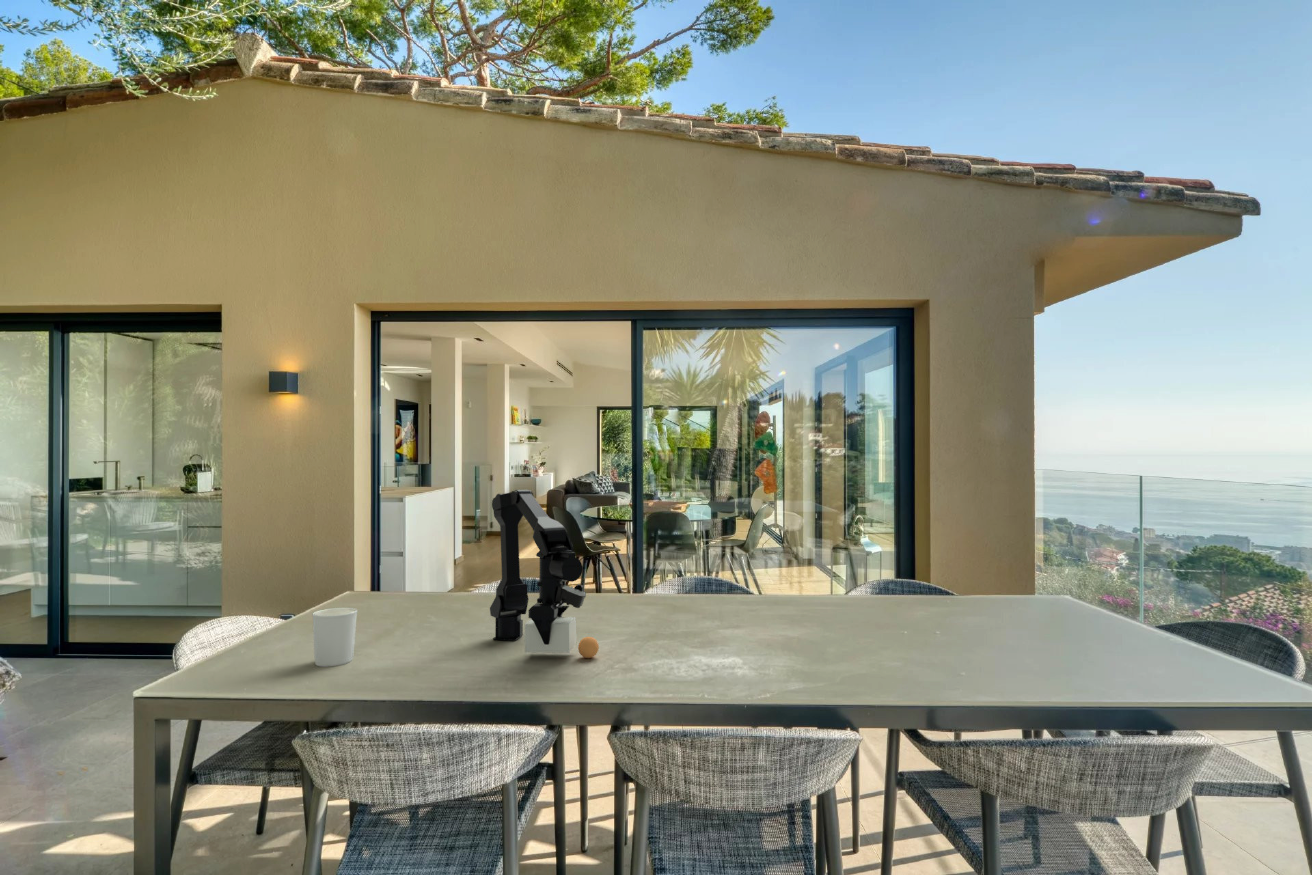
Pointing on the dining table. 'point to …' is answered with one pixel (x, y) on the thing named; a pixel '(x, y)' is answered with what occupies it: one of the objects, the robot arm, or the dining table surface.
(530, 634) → the pale white box
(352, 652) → the candle holder
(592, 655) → the ball
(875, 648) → the dining table surface
